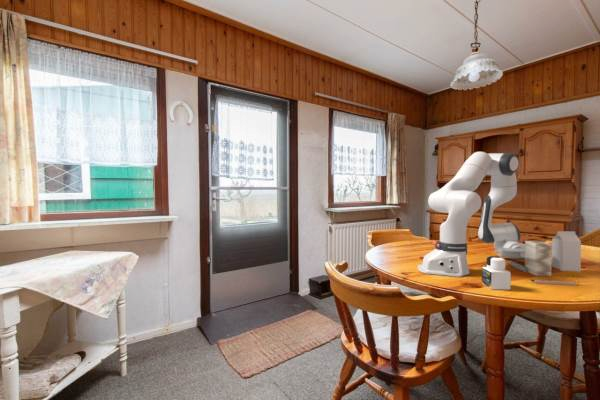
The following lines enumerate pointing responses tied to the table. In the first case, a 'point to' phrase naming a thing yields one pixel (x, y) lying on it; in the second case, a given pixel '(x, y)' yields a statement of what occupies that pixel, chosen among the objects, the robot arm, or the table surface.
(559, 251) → the milk carton
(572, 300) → the table surface
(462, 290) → the table surface
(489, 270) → the medicine bottle
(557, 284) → the chute
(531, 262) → the block
